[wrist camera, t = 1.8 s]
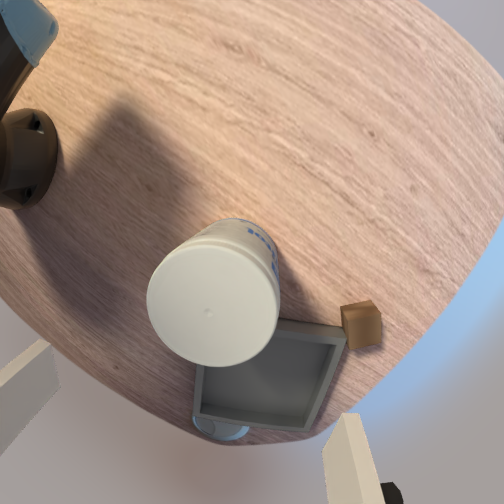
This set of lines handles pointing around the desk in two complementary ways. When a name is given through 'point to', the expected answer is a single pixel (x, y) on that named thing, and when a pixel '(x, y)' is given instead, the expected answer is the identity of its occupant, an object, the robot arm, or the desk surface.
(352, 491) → the robot arm
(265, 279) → the supplement tub
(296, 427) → the tray
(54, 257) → the desk surface
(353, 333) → the walnut block
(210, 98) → the desk surface
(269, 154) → the desk surface
